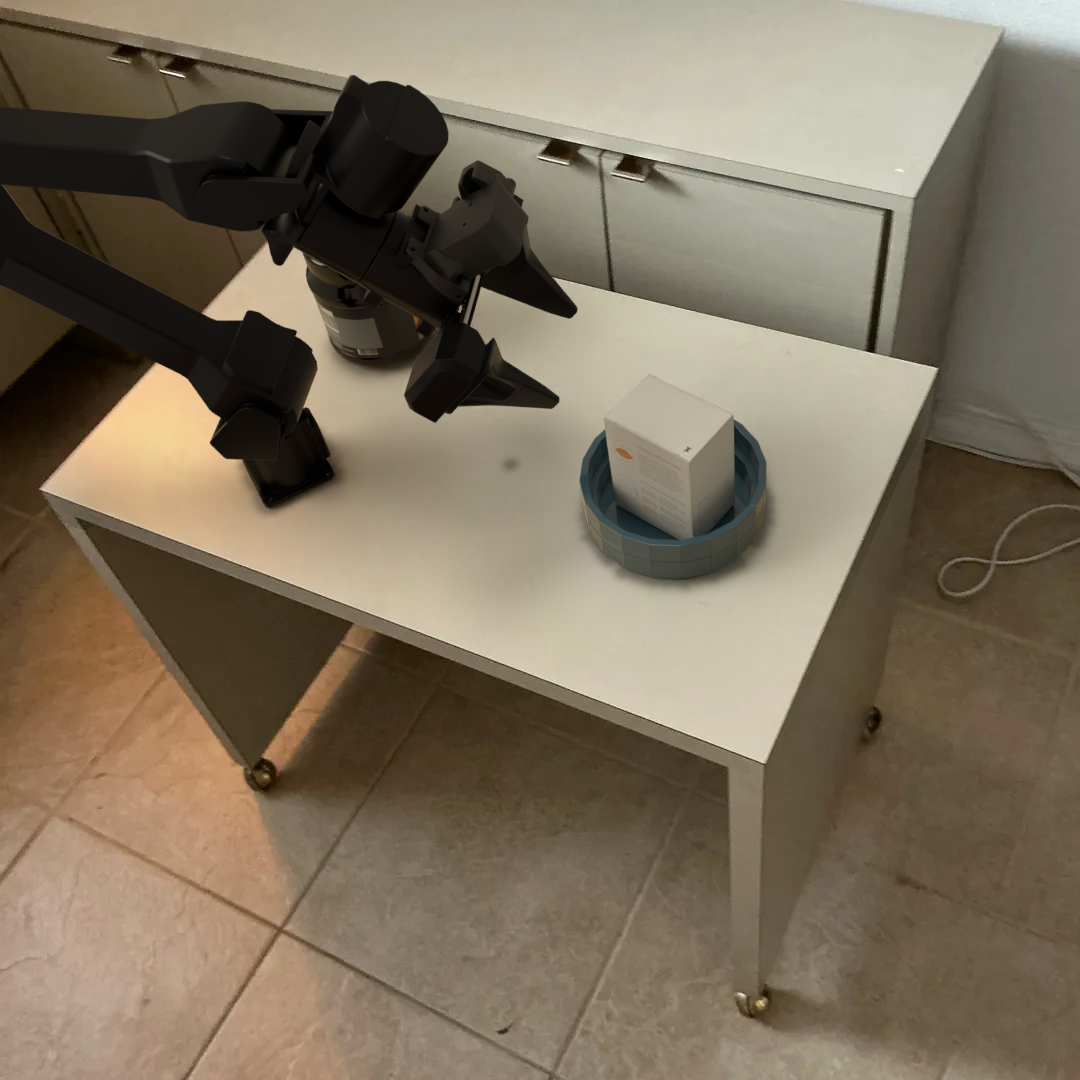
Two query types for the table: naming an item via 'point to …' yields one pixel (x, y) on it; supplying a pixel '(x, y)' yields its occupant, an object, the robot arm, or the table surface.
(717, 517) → the small box
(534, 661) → the table surface
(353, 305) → the supplement container
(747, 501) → the bowl
